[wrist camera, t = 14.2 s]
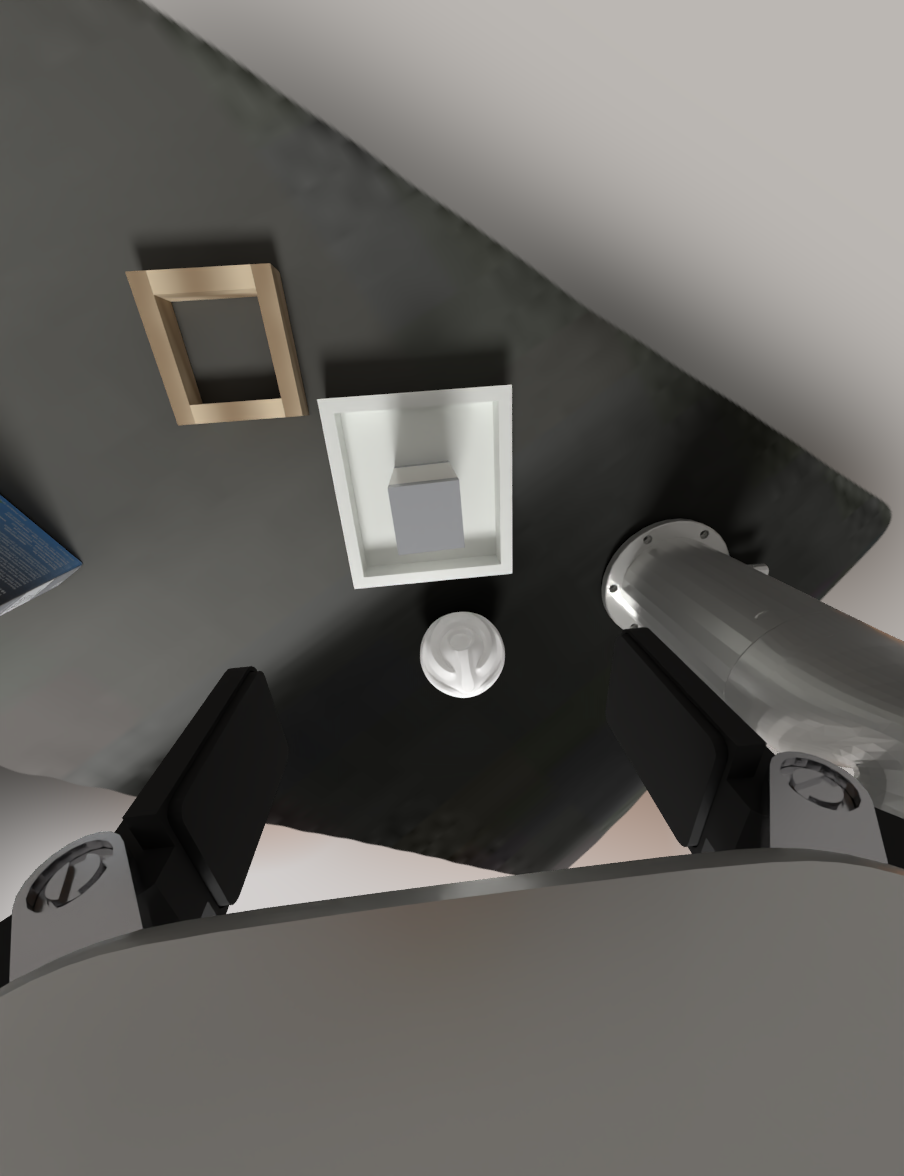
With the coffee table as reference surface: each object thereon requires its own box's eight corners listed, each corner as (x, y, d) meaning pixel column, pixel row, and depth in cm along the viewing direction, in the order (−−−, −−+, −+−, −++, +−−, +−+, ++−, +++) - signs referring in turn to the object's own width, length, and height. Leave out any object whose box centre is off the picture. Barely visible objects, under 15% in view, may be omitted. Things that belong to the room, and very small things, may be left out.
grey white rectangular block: (448, 460, 33) (459, 479, 25) (453, 513, 35) (465, 547, 27) (394, 466, 32) (387, 487, 24) (402, 519, 34) (398, 555, 26)
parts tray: (503, 386, 31) (511, 384, 28) (505, 561, 38) (512, 573, 35) (325, 399, 31) (317, 399, 28) (358, 575, 37) (354, 589, 34)
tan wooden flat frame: (279, 272, 27) (270, 263, 25) (309, 414, 31) (302, 415, 29) (145, 280, 27) (125, 271, 25) (192, 423, 30) (178, 425, 29)
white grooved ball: (493, 594, 39) (509, 635, 32) (499, 656, 42) (515, 706, 36) (413, 606, 39) (413, 651, 32) (426, 668, 42) (428, 720, 35)
